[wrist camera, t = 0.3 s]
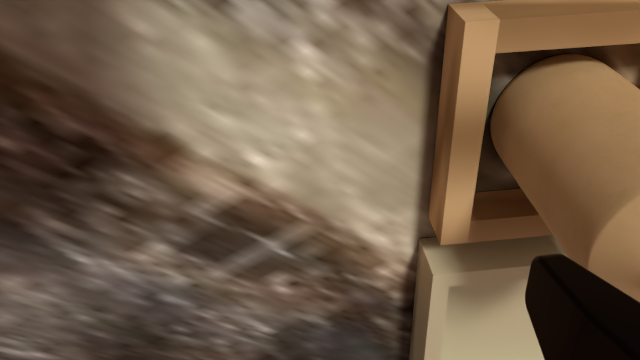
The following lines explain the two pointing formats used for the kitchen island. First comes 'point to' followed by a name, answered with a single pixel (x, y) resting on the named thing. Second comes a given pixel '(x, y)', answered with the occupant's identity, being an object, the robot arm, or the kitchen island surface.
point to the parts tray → (475, 299)
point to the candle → (578, 159)
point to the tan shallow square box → (473, 93)
